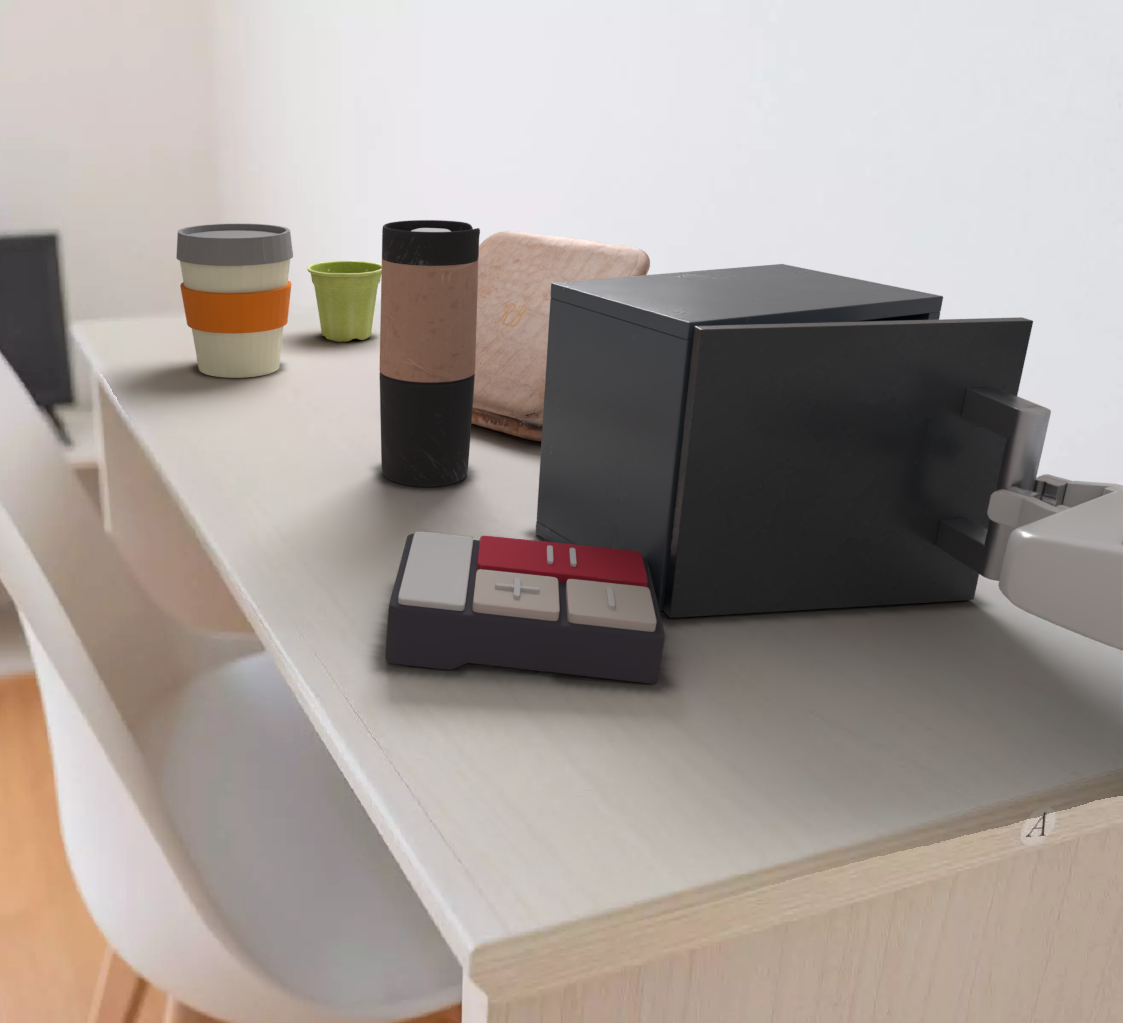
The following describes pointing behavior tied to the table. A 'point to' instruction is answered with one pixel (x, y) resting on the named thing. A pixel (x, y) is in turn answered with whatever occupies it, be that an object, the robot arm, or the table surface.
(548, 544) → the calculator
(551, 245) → the case
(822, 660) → the table surface
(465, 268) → the travel mug
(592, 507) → the dark grey cabinet
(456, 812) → the table surface
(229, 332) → the reusable coffee cup
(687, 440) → the dark grey door
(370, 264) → the plant pot
